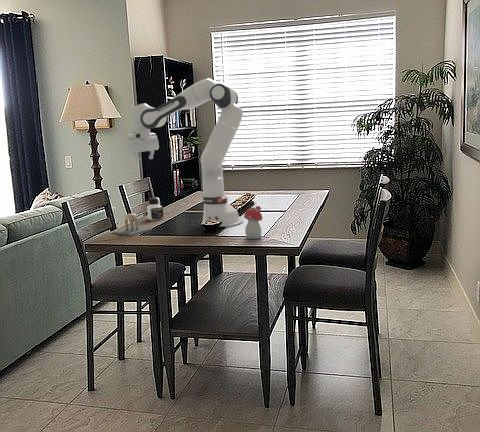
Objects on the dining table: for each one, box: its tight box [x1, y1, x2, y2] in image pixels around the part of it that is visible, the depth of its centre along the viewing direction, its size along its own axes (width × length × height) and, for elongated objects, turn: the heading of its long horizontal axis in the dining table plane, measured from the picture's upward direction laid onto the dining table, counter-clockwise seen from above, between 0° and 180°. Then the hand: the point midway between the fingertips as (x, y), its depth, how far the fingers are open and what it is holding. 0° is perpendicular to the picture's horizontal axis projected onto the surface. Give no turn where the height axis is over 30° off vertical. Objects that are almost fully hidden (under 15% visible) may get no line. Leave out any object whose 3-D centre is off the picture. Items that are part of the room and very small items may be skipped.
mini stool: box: [124, 213, 139, 231], centre depth 281 cm, size 6×6×8 cm
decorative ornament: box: [243, 205, 263, 240], centre depth 251 cm, size 9×7×15 cm
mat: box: [112, 225, 153, 237], centre depth 282 cm, size 14×14×1 cm
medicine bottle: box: [146, 197, 164, 221], centre depth 313 cm, size 7×7×12 cm
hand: (144, 159), depth 302 cm, fingers open, 8 cm apart
